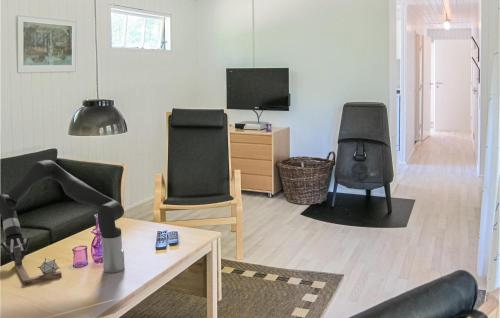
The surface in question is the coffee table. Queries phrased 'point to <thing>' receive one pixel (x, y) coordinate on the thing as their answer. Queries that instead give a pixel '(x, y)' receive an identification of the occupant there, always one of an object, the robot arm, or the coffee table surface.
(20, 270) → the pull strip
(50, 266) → the grey spiky ball
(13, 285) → the coffee table surface
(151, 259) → the coffee table surface
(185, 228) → the coffee table surface
